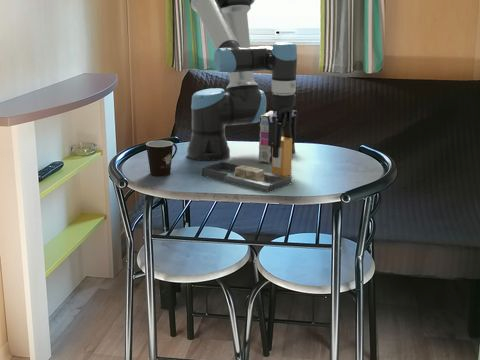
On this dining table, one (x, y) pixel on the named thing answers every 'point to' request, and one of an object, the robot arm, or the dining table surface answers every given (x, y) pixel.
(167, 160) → the coffee mug
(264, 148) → the candy bar box
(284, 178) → the grey flat rectangular tray
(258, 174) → the tan wooden cube
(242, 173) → the beige cube
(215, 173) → the frame
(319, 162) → the dining table surface
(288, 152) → the orange rectangular block
